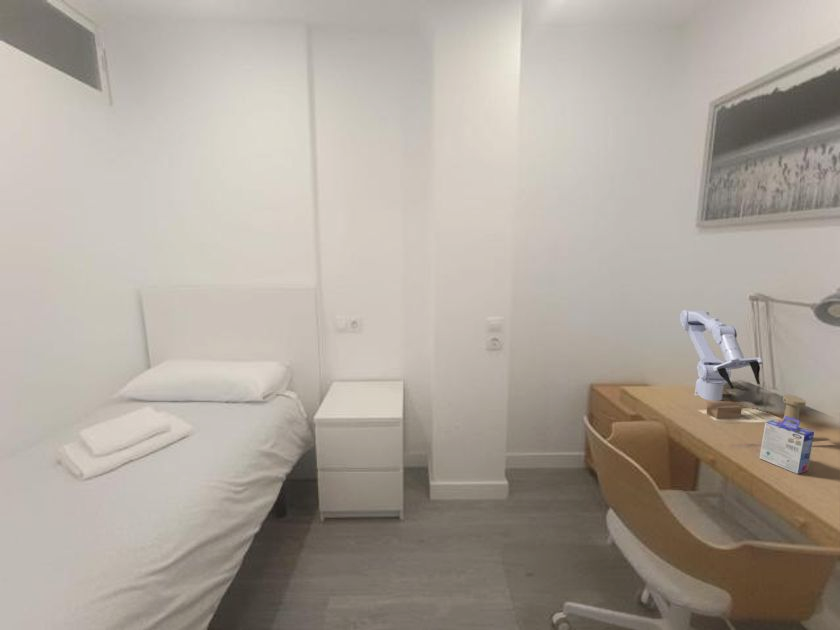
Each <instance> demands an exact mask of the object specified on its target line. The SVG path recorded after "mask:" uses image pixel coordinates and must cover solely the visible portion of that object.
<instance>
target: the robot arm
mask: <svg viewBox="0 0 840 630" xmlns="http://www.w3.org/2000/svg"><path fill="white" fill-rule="evenodd" d="M709 313H710V312H709V311H708V310H706V309H703V310H701V309H699V310H698V309H697V310H696V309H692V310H691V309H688V310H687V309H683V310H681V312H680V314H679V322H680V325H681V326H682V328H683V330H684V331H686V332H687V335H688V337H689V339H690V341H691V343H692V345H693V347H694V349H695V352H696V354H697V355H698V358H699V359H700V360H699V361H698V362H697V365H696V369H697V375H698V377H699V378H697V379H696V381H695V389H694V396H700V397H701V398H702V399H704V400H707V401H711V402H722V400H723V394H724V384H725V383H727V384H728V385H729V386H730V389H734V386H733V385H734V384H732V381H731V379H730V378H731V376H732V371H731V370H737V369H741V368H744V367H749V366H750V368H751V370H752V372H753V376H754V378H755V381H756V384H757V385H760V371H761V366H760V365H763V361H762V359H761V357H759V356H758V357H750V358H749V357H748V358H745V357H744V354H743V352H742V349H741V347H740V344H739V343H738V340H737V337H738V331H737V328H736V327H735V325H727V324H725V323H724V322H722V321H720V318H718V317H716V318H715V317H713V318H712V317H711V316H710V314H709ZM704 331H708V333H710V334H711V335H712V339H713V341H715V342H716V344H717V345H719V347H720V350H721V354H722V355H723V357H724V361H723V360H721V359H719V358H717V357H716V356H715V354H714V353H713V350H712V348H711V347H710V344H709V343H708V341H707V339H706V337H705V334H704V333H703V332H704Z"/></svg>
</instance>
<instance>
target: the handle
mask: <svg viewBox="0 0 840 630" xmlns="http://www.w3.org/2000/svg"><path fill="white" fill-rule="evenodd" d="M782 401H783V403H784V404H786V406H785V409H784V415H783V418H782V419H783V420H784V418H785V417H786V416H787V417H790V418H793V419H797V420H799V419H800V409H801V407H805V406H806V403H807V402H806V400H805V399H804V398H802V397H800V396H796V395H791V394H783V395H782ZM786 421H787V422H789V423H792V424H797V423H796V422H794V421H792V420H786Z"/></svg>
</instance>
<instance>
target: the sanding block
mask: <svg viewBox="0 0 840 630" xmlns="http://www.w3.org/2000/svg"><path fill="white" fill-rule="evenodd" d="M706 405H707V406H706V410H707V413H706V414H708V415H710V416H712V417H713V418H715V419H739V418H741V410H742V408H743V407H742V406H741V405H739V404H737V403H734V402H732V401H711V402H707V404H706Z"/></svg>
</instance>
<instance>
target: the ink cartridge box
mask: <svg viewBox="0 0 840 630" xmlns="http://www.w3.org/2000/svg"><path fill="white" fill-rule="evenodd" d="M783 418H784V417H783ZM786 420H792V421H794V422H796V423H797V424H792V423H789V422H787V421H786ZM800 423H801V420H797V419H793V418H790V417H787V416H786V417H785V418H784V420H783V421H777V420H771V421H768V422H764V428H763V434H762V440H761V446H760V453H759V459H760V460H763V461H765V462H768V463H769V464H773V465H775V466H777V467H780V468H781V469H784V470H787V471H790V472H792V473H794V474H798V475H799V474H801V473H802V474H803V473H805V472H808V470H809V464H810V458H811V452H812V447H813V441H814V436H815V435H814V434H815V432H814V431H813V430H809V429H805V428H803V427H799V425H800Z"/></svg>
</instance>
